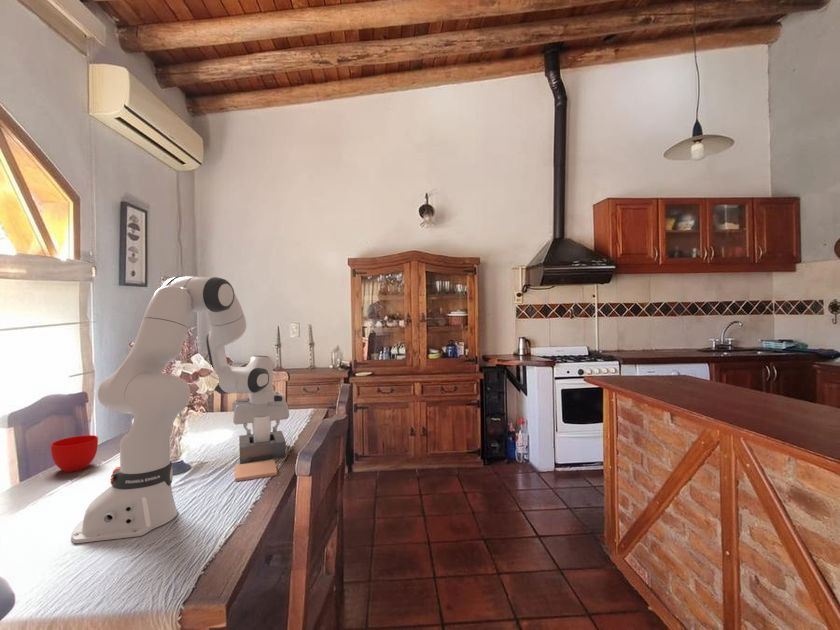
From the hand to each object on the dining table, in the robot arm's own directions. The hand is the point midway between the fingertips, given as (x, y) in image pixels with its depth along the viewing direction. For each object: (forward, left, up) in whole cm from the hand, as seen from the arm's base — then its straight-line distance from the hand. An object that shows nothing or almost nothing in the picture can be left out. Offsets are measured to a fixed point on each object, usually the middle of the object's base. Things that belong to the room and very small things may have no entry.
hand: (261, 433), depth 163 cm
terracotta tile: (-3, -18, -8) cm, 20 cm away
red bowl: (-61, +14, -8) cm, 64 cm away
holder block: (0, 0, -8) cm, 8 cm away
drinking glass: (0, 0, -8) cm, 8 cm away
